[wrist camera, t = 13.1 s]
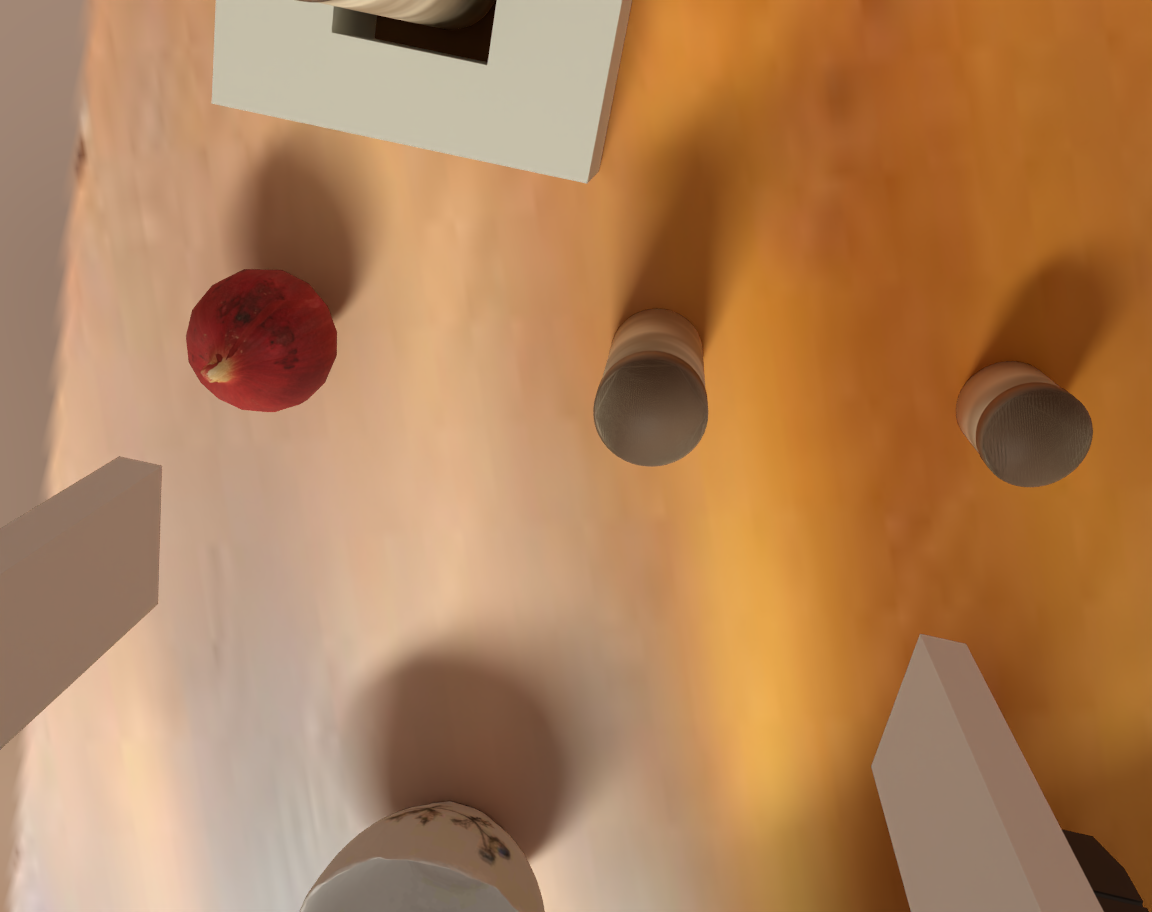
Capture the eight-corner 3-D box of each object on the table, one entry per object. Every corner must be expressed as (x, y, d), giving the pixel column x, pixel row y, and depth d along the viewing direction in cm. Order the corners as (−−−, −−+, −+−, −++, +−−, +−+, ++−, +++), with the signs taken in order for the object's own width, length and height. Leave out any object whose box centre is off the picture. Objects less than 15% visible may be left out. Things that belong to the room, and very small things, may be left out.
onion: (257, 232, 41) (163, 265, 34) (378, 290, 42) (312, 335, 34) (220, 348, 43) (124, 403, 36) (335, 402, 44) (264, 467, 36)
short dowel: (1070, 371, 40) (1110, 401, 36) (1033, 459, 41) (1068, 497, 38) (974, 350, 40) (1003, 377, 36) (941, 439, 41) (966, 474, 38)
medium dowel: (714, 318, 40) (720, 371, 33) (691, 407, 42) (692, 477, 35) (620, 298, 41) (605, 346, 33) (601, 387, 42) (583, 453, 35)
